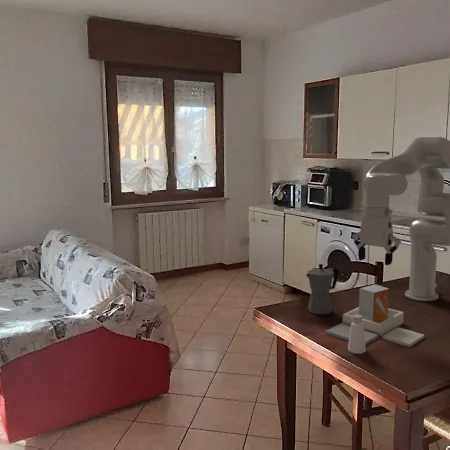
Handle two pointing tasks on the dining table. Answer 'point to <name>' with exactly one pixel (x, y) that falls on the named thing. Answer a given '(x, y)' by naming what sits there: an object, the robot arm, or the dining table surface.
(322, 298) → the coffeepot
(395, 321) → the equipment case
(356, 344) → the pepper shaker
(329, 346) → the dining table surface
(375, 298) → the small box
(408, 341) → the rubber mat
